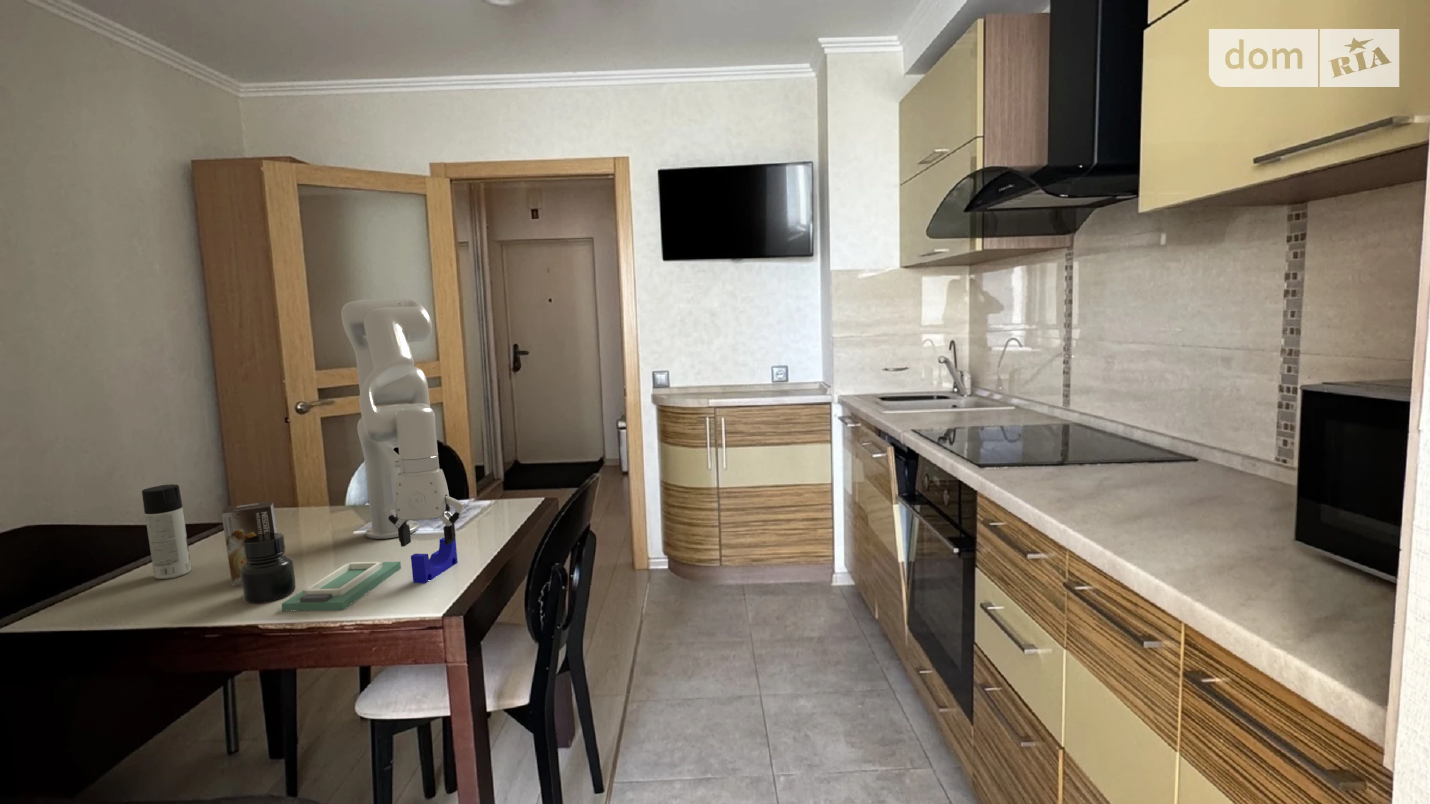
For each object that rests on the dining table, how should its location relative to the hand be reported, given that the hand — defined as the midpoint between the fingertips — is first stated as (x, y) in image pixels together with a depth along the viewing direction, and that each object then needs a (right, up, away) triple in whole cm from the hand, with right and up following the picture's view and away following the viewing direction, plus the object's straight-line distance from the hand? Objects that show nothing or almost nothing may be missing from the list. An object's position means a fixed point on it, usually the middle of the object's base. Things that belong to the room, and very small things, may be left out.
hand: (427, 543), depth 150 cm
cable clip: (+1, -7, +2) cm, 7 cm away
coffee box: (-38, -8, +3) cm, 39 cm away
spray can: (-60, -9, +7) cm, 61 cm away
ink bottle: (-29, -9, -8) cm, 31 cm away
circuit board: (-14, -8, -6) cm, 17 cm away
